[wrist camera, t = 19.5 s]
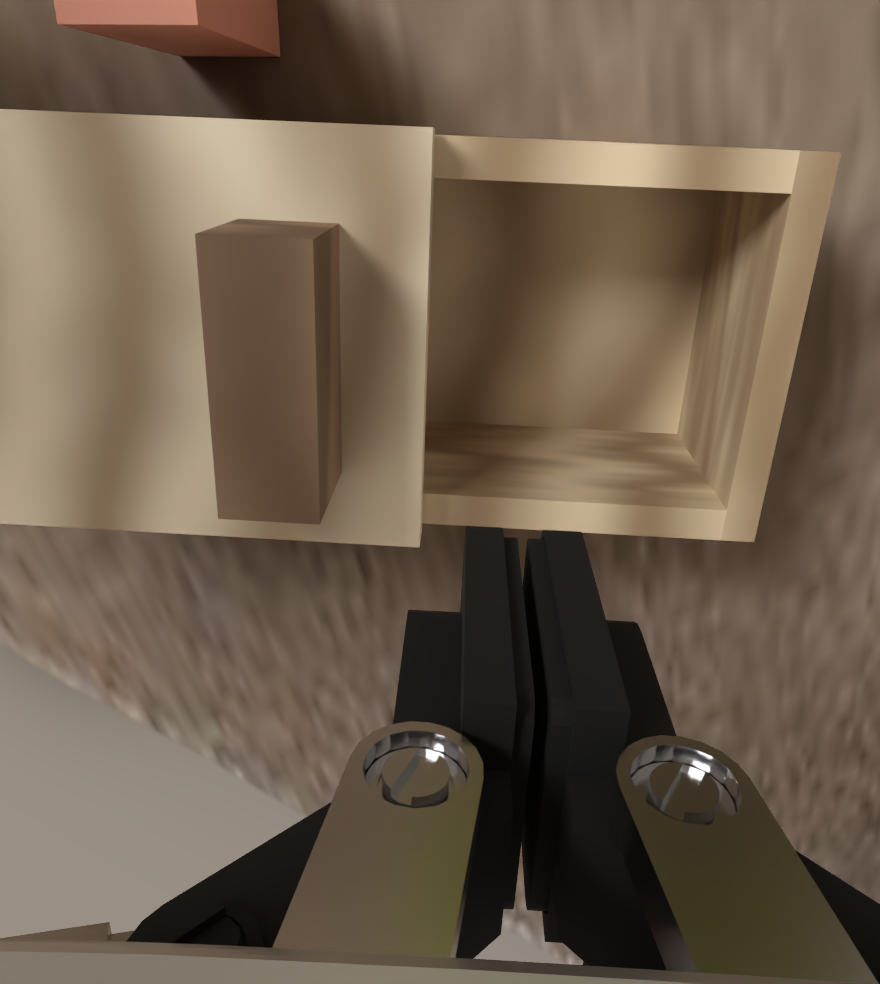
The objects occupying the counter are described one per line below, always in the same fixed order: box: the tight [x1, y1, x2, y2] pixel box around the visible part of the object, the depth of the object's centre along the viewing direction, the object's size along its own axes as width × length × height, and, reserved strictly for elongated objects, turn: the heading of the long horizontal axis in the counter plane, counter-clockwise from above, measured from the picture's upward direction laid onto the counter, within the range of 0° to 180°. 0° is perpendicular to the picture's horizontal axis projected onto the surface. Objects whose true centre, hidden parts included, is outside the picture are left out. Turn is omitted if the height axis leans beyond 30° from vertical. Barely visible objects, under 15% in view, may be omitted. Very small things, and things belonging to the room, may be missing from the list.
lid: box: [0, 109, 435, 547], centre depth 24 cm, size 20×13×5 cm, turn 88°
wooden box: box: [422, 134, 841, 542], centre depth 31 cm, size 30×13×9 cm, turn 88°
